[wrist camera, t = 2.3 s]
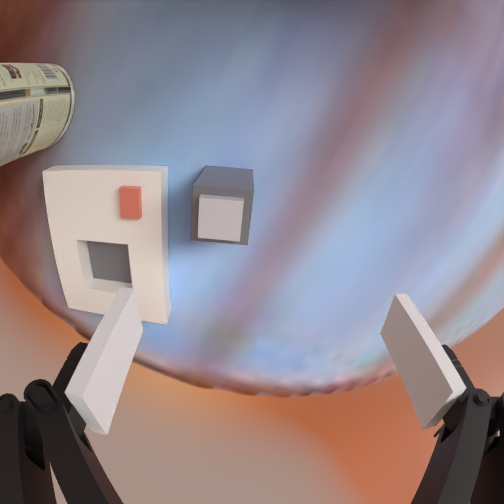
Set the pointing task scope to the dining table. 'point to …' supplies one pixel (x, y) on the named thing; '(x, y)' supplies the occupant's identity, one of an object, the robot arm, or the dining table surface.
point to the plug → (222, 205)
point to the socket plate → (110, 235)
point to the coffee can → (33, 107)
